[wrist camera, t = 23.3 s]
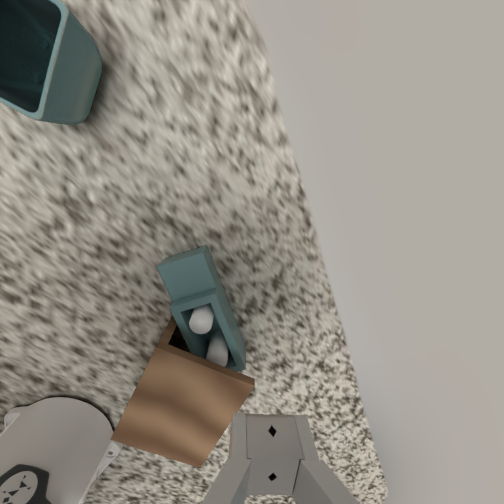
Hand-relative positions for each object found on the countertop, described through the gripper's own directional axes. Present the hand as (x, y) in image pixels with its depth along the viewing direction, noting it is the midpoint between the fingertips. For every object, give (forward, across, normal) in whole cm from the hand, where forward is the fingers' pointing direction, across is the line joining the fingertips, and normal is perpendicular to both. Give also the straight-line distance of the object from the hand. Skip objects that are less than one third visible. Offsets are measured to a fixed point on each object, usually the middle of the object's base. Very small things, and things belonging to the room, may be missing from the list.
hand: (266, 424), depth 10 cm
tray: (+24, +4, +11) cm, 27 cm away
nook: (+24, +6, +18) cm, 31 cm away
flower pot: (+24, +21, -18) cm, 37 cm away
